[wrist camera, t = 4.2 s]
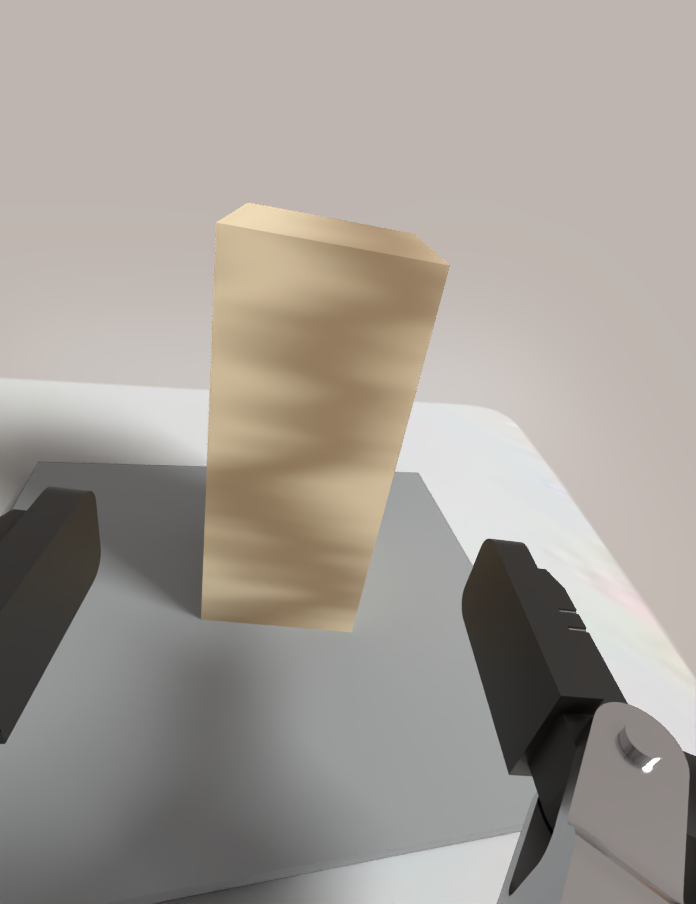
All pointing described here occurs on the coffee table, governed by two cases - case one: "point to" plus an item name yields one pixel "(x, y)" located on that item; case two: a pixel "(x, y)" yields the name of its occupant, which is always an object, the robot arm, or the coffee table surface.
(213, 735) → the slate mat
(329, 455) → the birch block
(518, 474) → the coffee table surface
